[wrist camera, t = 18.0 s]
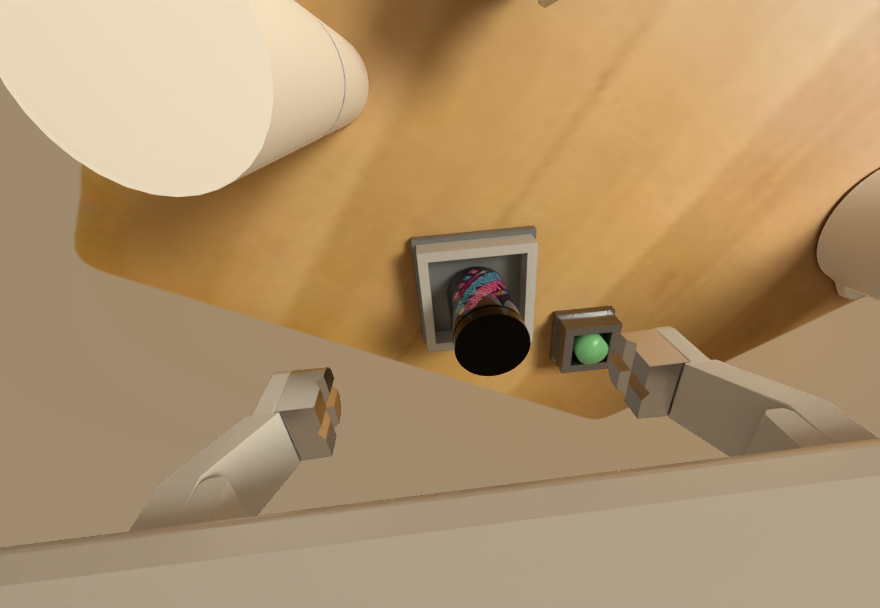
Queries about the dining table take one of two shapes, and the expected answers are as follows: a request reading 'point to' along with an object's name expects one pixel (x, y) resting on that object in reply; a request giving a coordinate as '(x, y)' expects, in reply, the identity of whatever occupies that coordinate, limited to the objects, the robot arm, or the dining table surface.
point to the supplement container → (485, 323)
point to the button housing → (581, 324)
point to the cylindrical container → (178, 85)
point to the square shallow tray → (458, 251)
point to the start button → (590, 348)
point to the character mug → (546, 2)
